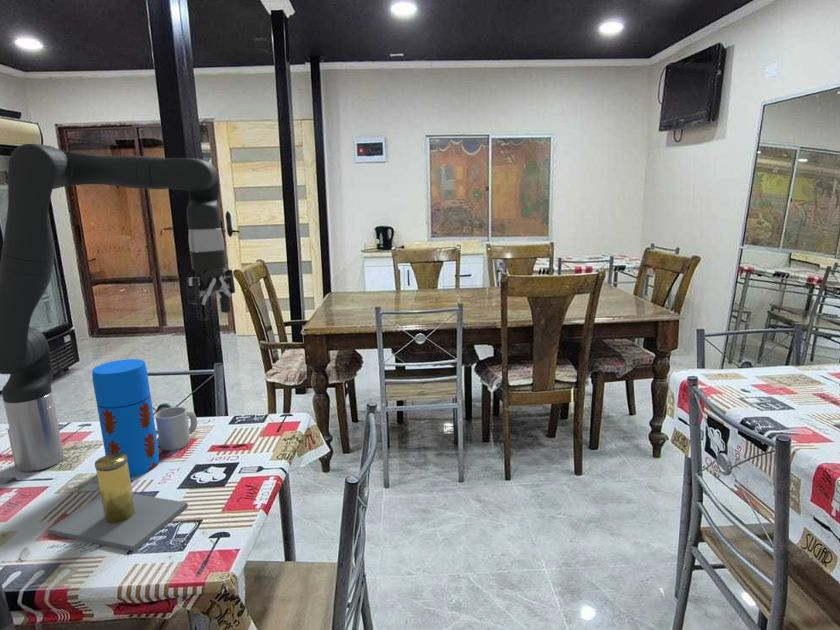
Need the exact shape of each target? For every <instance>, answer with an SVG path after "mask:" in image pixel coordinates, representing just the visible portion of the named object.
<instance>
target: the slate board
mask: <svg viewBox="0 0 840 630" xmlns="http://www.w3.org/2000/svg"><path fill="white" fill-rule="evenodd" d="M132 494H133V500H134V507H135V514H134V515H133V516H132V517H131V518H129V519H127V520H125V521H122V522H119V523H108V522H106V521H105V517H104V511H103V505H102V499H101V494H100V495H98V496H97V497H95V498H94V499H92V500H91V501H89V502H88V503H86V504H85V505H83V506H81V507H80V508H78V509H77V510H75V511H74V512H72V513H70V514H69V515H68V516H66V517H64V518H63V519H61V520H60V521H58V522H56V523H55V524H53V525H52V526H50V527H49V528H48V529H47V532H48V535H52V536H57V537H62V538H67V539H71V540H77V541H81V542H86V543H92V544H96V545H101V546H105V547H111V548H115V549H121V550H125V551H131V552H135V551H136V550H138V548H140V547H142V545H144V544H145V543H147V541H148V540H149V539H151V538H152V537H153V536H154V535H156V534H157V533H158V532H159V531H161V530H162V529H164V527H165V526H167V525H168V524H169V523H170V522H172V521H173V520H174V519H176V518H177V517H178V516H179V515H180V514H182V513H183V512H185V510H187V508H188V507H189V505H188V502H185V501H179V500H174V499H168V498H162V497H156V496H149V495H142V494H138V493H132Z"/></svg>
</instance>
